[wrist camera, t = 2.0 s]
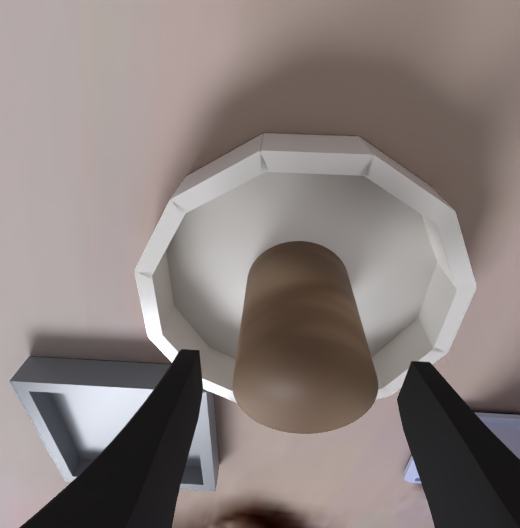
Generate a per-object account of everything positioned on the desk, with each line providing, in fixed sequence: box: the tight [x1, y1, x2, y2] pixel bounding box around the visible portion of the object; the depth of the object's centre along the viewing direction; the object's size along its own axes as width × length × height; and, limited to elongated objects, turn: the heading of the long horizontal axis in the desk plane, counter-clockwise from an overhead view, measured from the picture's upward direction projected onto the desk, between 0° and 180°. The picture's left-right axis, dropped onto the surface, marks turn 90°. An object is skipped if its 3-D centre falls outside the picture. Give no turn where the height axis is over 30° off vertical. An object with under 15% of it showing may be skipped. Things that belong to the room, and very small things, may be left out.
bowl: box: [134, 133, 476, 403], centre depth 16 cm, size 14×14×2 cm
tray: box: [10, 357, 219, 491], centre depth 23 cm, size 11×11×2 cm
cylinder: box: [232, 241, 378, 434], centre depth 14 cm, size 5×5×6 cm
